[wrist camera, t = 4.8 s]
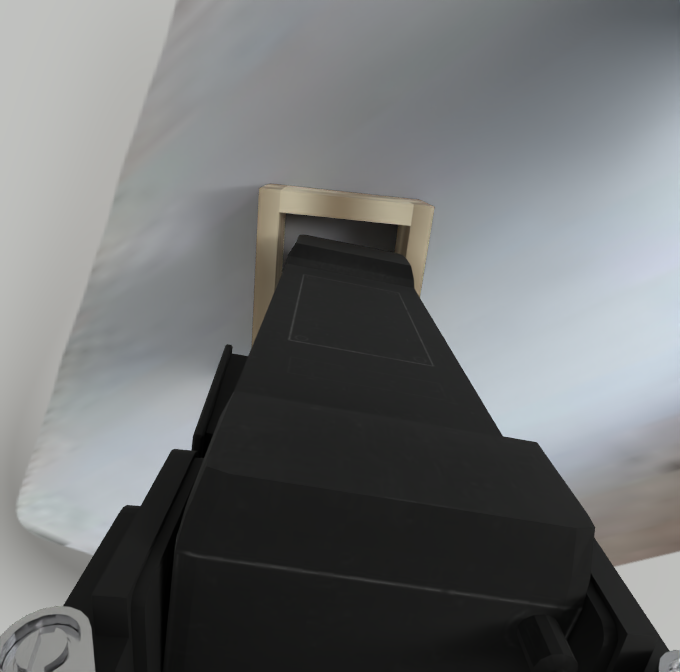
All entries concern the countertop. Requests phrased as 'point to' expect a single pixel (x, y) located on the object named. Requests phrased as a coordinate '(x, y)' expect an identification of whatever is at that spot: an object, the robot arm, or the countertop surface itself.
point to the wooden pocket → (334, 204)
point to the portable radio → (367, 498)
